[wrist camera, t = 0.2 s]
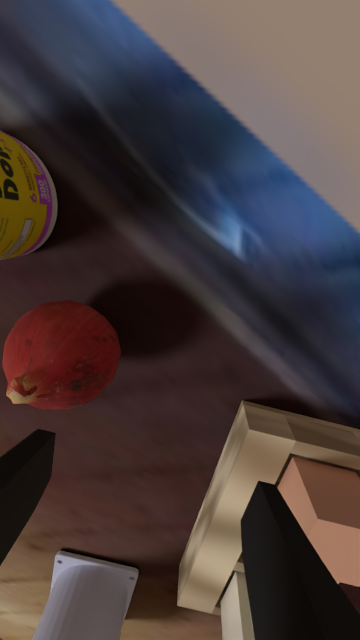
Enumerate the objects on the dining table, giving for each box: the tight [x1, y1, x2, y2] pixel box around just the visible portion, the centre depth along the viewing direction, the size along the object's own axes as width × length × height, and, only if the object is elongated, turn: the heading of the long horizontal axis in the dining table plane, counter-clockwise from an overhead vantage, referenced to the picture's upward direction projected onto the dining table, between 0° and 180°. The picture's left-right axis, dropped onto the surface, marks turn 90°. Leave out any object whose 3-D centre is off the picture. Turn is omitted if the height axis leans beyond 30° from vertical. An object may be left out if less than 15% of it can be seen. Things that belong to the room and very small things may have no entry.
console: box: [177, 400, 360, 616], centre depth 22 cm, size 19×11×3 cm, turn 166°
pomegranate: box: [2, 300, 121, 410], centre depth 15 cm, size 6×6×8 cm
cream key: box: [221, 571, 255, 640], centre depth 21 cm, size 4×4×4 cm
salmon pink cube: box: [277, 457, 360, 587], centre depth 17 cm, size 4×4×4 cm
